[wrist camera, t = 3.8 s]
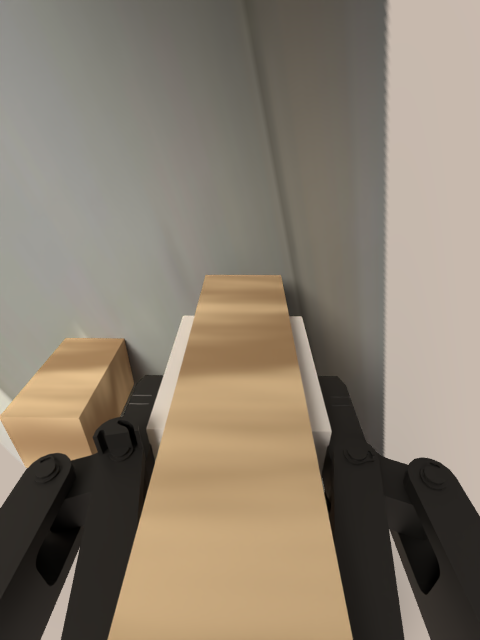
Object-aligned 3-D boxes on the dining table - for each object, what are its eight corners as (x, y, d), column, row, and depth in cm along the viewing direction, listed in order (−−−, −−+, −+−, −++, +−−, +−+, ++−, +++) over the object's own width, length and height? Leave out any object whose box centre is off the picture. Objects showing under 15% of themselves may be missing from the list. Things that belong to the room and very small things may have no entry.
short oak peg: (65, 338, 22) (-1, 417, 16) (124, 338, 22) (78, 417, 16) (80, 383, 25) (26, 467, 19) (134, 383, 24) (97, 468, 18)
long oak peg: (205, 275, 18) (60, 813, 4) (281, 275, 18) (389, 826, 4) (209, 336, 20) (123, 827, 6) (277, 337, 20) (339, 836, 6)
